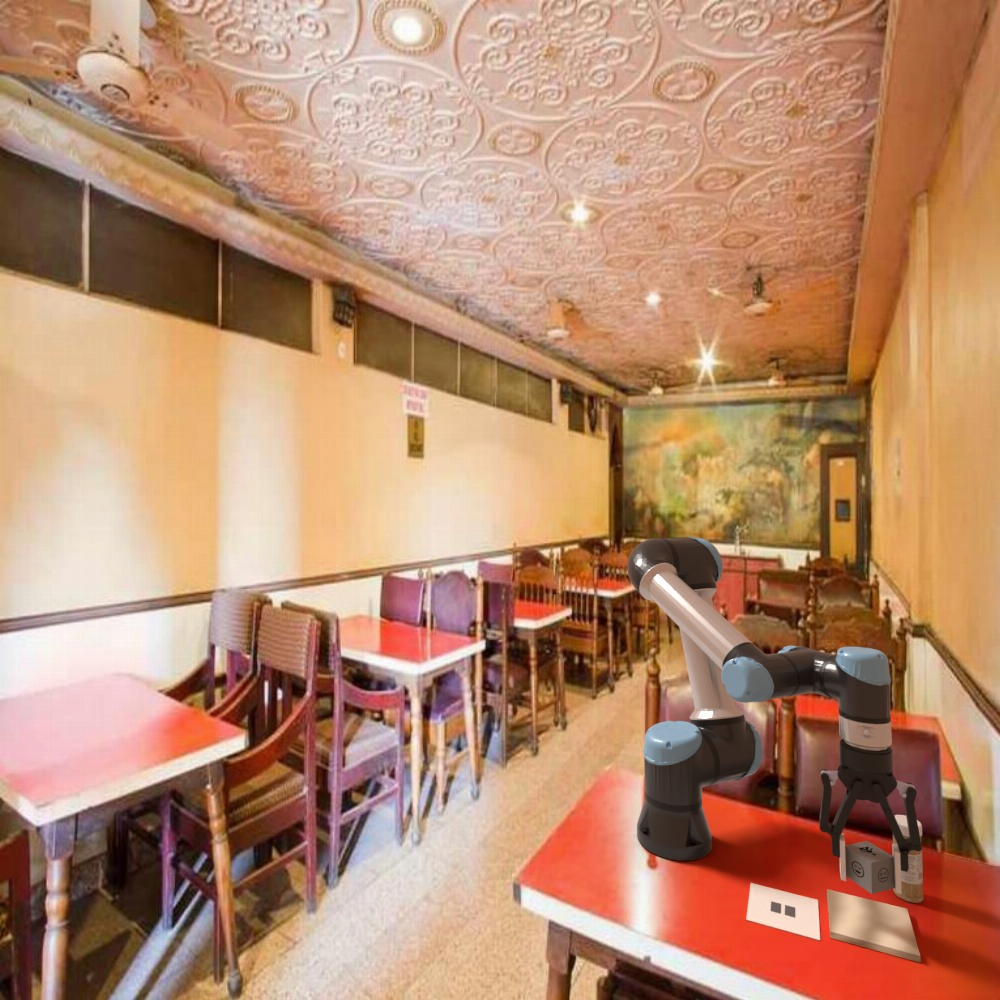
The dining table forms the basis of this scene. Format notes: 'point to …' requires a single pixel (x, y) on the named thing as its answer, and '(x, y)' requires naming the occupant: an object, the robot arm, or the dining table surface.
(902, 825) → the sprinkles bottle
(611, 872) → the dining table surface
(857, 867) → the dice cube
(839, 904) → the birch coaster
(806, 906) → the white tile
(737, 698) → the robot arm
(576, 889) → the dining table surface
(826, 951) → the dining table surface
